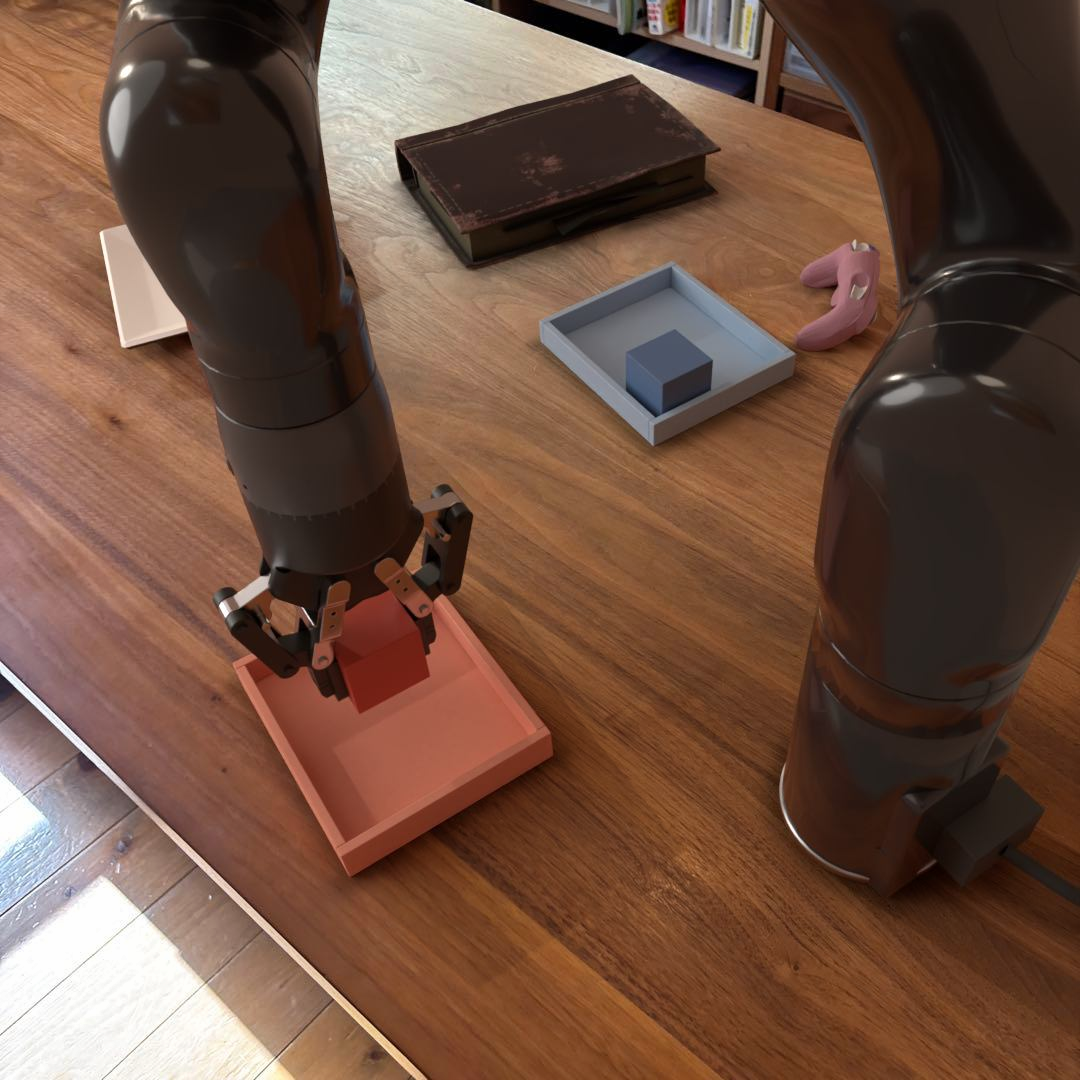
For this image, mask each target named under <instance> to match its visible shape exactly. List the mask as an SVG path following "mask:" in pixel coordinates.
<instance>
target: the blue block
mask: <svg viewBox="0 0 1080 1080" xmlns="http://www.w3.org/2000/svg"><path fill="white" fill-rule="evenodd" d="M712 368H713V359H711V358H710V357H709V356H708V355H706V354H705V353H704V352H703V351H701V350H700V349H699V348H698V347H697V346H695V345H694V344H693V343H692V342H690V341H689V340H688V339H687V338H685V337H684V336H683V335H682V334H681V333H679V332H678V331H677V330H676V329H674V330H672V331H670V332H667V333H665V334H663V335H661V336H659V337H657V338H655V339H653V340H650V341H648V342H646V343H644V344H642V345H640V346H638V347H636V348H634V349H631V350H629V351H627V352H626V392H628V393H629V394H630V395H631V396H632V397H633V398H634V399H635V400H636V401H638V402H639V403H640V404H641V405H642V406H643V407H644V408H645V409H646V410H648V411H649V412H650V413H651V414H652V415H653V416H654V417H655V418H656V417H658V416H660V415H662V414H664V413H666V412H668V411H670V410H672V409H674V408H676V407H678V406H680V405H682V404H684V403H686V402H688V401H690V400H692V399H694V398H696V397H698V396H700V395H702V394H704V393H706V392H708V391H710V390H711V382H712Z"/></svg>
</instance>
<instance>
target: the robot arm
mask: <svg viewBox="0 0 1080 1080" xmlns="http://www.w3.org/2000/svg"><path fill="white" fill-rule="evenodd" d="M330 2H331V0H119V4H118V5H119V6H118V12H117V19H116V24H115V31H114V35H113V36H114V37H113V43H112V47H111V52H110V57H109V63H108V67H107V72H106V77H105V81H104V85H103V90H102V95H101V101H100V106H99V107H100V108H99V113H98V136H99V137H98V138H99V143H100V149H101V155H102V160H103V165H104V168H105V172H106V175H107V178H108V181H109V185H110V188H111V190H112V194H113V196H114V199H115V202H116V205H117V207H118V210H119V212H120V214H121V218H122V220H123V221H124V223H125V224H126V226H127V228H128V230H129V232H130V234H131V236H132V237H133V239H134V241H135V243H136V245H137V246H138V248H139V250H140V252H141V253H142V255H143V257H144V258H145V260H146V261H147V263H148V265H149V266H150V268H151V269H152V271H153V273H154V274H155V276H156V277H157V279H158V281H159V282H160V284H161V286H162V287H163V289H164V291H165V292H166V294H167V296H168V297H169V298H170V300H171V301H172V302H173V304H174V305H175V307H176V308H177V309H178V310H179V312H180V313H181V314H182V315H183V317H184V318H185V322H186V326H187V330H188V333H189V334H188V336H189V340H190V342H191V345H192V349H193V352H194V354H195V357H196V359H197V362H198V365H199V367H200V370H201V374H202V376H203V379H204V381H205V384H206V387H207V389H208V393H209V395H210V397H211V400H212V404H213V407H214V412H215V418H216V424H217V429H218V433H219V437H220V440H221V444H222V447H223V449H224V452H225V453H224V457H225V463H226V466H227V468H228V471H229V472H230V473H231V475H232V476H233V477H234V480H235V482H236V485H237V487H238V489H239V492H240V496H241V498H242V500H243V503H244V505H245V508H246V511H247V513H248V517H249V519H250V522H251V524H252V527H253V529H254V530H253V531H254V532H255V535H256V537H257V541H258V543H259V546H260V549H261V552H262V555H261V560H260V563H259V569H258V573H259V577H257V578H255V579H254V580H253V581H252V582H250V583H248V585H246V586H245V587H244V588H242V589H241V590H239V591H237V589H235V588H234V587H232V586H224V587H222V588H220V589H218V590H216V591H215V593H214V594H213V596H212V603H213V604H214V606H215V608H216V610H217V612H218V613H219V616H220V617H221V618H222V619H221V620H223V622H224V625H225V626H226V627H227V629H228V632H229V634H230V635H231V636H232V637H233V638H234V639H235V640H236V641H237V642H238V643H239V644H241V645H242V646H243V647H244V648H245V649H246V650H248V651H249V652H250V654H251V653H252V654H254V655H255V656H256V657H257V658H258V659H259V660H260V661H262V662H263V663H264V664H265V665H266V666H267V667H268V668H270V669H271V670H272V671H273V672H274V673H275V674H276V675H278V676H279V677H280V678H282V679H287V678H290V677H292V676H294V675H295V674H296V673H297V672H298V671H299V669H300V667H308V670H309V673H310V676H311V678H312V680H313V681H314V683H315V685H316V686H317V688H318V690H319V691H320V693H321V695H322V696H324V697H326V698H328V697H330V696H332V695H334V696H335V697H336V699H337V701H338V702H339V701H341V700H343V699H345V698H347V697H349V693H348V690H347V687H346V684H345V681H344V678H343V675H342V672H341V669H340V666H339V663H338V661H337V659H336V658H335V656H334V652H335V644H336V638H340V637H341V636H342V629H343V621H344V614H345V612H347V611H349V610H351V609H352V608H353V607H355V606H356V605H357V604H359V603H360V602H362V601H363V600H365V599H369V598H372V597H375V596H378V595H380V594H382V593H384V592H386V591H388V590H391V591H392V593H393V594H394V595H395V596H396V597H397V598H398V600H399V601H400V602H401V604H402V605H403V607H404V608H405V609H406V611H407V612H408V614H409V615H410V617H411V618H412V619H413V621H414V622H415V624H416V625H417V626H418V628H419V629H420V634H421V638H422V643H423V647H424V651H425V656H427V655H429V654H430V653H431V652H430V647H429V645H430V644H432V643H433V642H435V639H436V630H435V626H434V621H433V616H432V612H431V611H432V610H433V608H434V603H433V602H434V601H435V599H436V598H438V597H439V596H440V595H441V594H443V595H444V596H446V597H450V596H453V595H454V594H456V593H457V592H459V590H460V589H461V587H462V583H463V577H464V571H465V565H466V561H467V555H468V549H469V544H470V537H471V533H472V532H471V531H472V527H473V521H474V514H473V512H472V511H471V510H470V509H469V508H468V506H467V505H466V504H465V502H464V501H463V500H462V498H461V497H460V496H459V495H458V494H457V492H455V491H454V488H452V487H451V486H450V484H447V483H441V484H439V485H438V486H436V487H435V488H434V489H432V491H431V494H430V498H429V499H424V500H420V501H416V502H414V501H413V500H412V499H411V495H410V489H409V486H408V485H409V484H408V480H407V476H406V471H405V470H406V469H405V466H404V461H403V456H402V452H401V447H400V442H399V438H398V433H397V429H396V423H395V419H394V415H393V410H392V409H393V408H392V405H391V400H390V398H389V393H388V390H387V388H386V387H387V386H386V384H385V382H384V379H383V377H382V375H381V372H380V370H379V367H378V365H377V361H376V357H375V353H374V349H373V344H372V339H371V334H370V330H369V325H368V321H367V317H366V311H365V307H364V302H363V298H362V295H361V291H360V290H361V289H360V287H359V284H358V281H357V278H356V275H355V272H354V269H353V267H352V264H351V263H350V261H349V259H348V257H347V255H346V253H345V252H344V250H343V249H342V248H341V246H340V241H339V236H338V231H337V225H336V221H335V216H334V215H335V214H334V211H333V205H332V204H333V203H332V199H331V193H330V188H329V182H328V174H327V168H326V163H325V162H326V161H325V154H324V147H323V141H322V140H323V139H322V131H321V117H320V116H321V115H320V104H319V102H320V101H319V84H318V81H319V80H318V79H319V69H320V63H321V62H320V61H321V55H322V47H323V41H324V34H325V28H326V23H327V17H328V12H329V8H330ZM758 2H759V4H760V5H761V6H762V8H764V10H765V11H766V12H767V14H768V16H769V17H770V18H771V19H772V21H773V22H774V23H775V24H776V25H777V27H778V28H779V30H780V31H781V32H782V33H783V34H784V36H785V38H787V39H788V40H789V42H790V43H791V44H792V45H793V47H795V49H796V50H797V51H798V53H799V54H800V55H801V56H802V58H803V59H804V60H805V61H806V62H807V63H808V64H809V66H810V67H811V68H812V69H813V71H814V72H815V73H816V74H817V76H819V78H820V79H821V80H822V81H823V83H824V84H825V85H826V86H827V88H828V89H829V90H830V92H831V93H832V94H833V95H834V97H835V98H836V99H837V101H839V103H840V104H841V105H842V107H843V108H844V110H845V111H846V113H847V114H848V116H849V118H850V120H851V122H852V123H853V125H854V127H855V128H856V131H857V132H858V133H859V137H860V138H861V141H862V143H863V145H864V148H865V150H866V153H867V154H868V157H869V160H870V163H871V166H872V170H873V172H874V176H875V179H876V182H877V185H878V190H879V195H880V198H881V201H882V206H883V210H884V215H885V219H886V223H887V227H888V228H887V229H888V232H889V237H890V242H891V243H890V244H891V248H892V254H893V261H894V266H895V273H896V282H897V289H898V290H897V291H898V305H897V314H896V319H895V322H894V324H893V325H892V327H891V328H890V330H889V332H888V333H887V335H886V336H885V338H884V340H883V341H882V342H881V344H880V346H879V347H878V349H877V350H876V352H875V354H874V355H873V356H872V358H871V360H870V361H869V362H868V365H867V366H866V368H865V370H864V371H863V373H862V375H860V377H859V379H858V380H857V382H856V384H855V385H854V387H853V388H852V390H851V392H850V393H849V395H848V397H847V398H846V401H845V402H844V404H843V406H842V408H841V410H840V414H839V416H838V419H837V422H836V425H835V428H834V431H833V434H832V438H831V442H830V446H829V451H828V455H827V461H826V465H825V472H824V477H823V484H822V491H821V498H820V505H819V506H820V507H819V512H818V519H817V526H816V535H815V542H814V552H813V572H814V578H815V581H816V585H817V587H818V589H819V593H818V598H817V603H816V607H815V613H814V618H813V623H812V628H811V633H810V637H809V642H808V648H807V651H806V657H805V660H804V661H805V662H804V667H803V671H802V677H801V682H800V686H799V691H798V697H797V702H796V707H795V710H794V711H795V712H794V717H793V722H792V726H791V732H790V737H789V741H788V748H787V752H786V753H787V754H786V758H785V763H784V765H783V767H782V771H781V775H780V779H779V783H778V784H779V785H778V807H779V811H780V814H781V817H782V820H783V823H784V826H785V828H786V829H787V831H788V833H789V835H790V836H791V838H792V839H793V841H794V842H795V843H796V845H797V846H798V848H800V850H801V851H802V852H803V853H804V854H805V855H806V856H807V857H809V859H811V860H812V861H813V862H814V863H816V864H817V865H819V866H820V867H822V868H823V869H825V870H826V871H828V872H829V873H832V874H834V875H836V876H839V877H841V878H844V879H846V880H849V881H852V882H856V883H862V884H866V885H868V886H869V887H870V888H871V889H872V890H874V892H875V893H876V894H877V895H878V896H879V897H881V898H882V899H888V898H890V897H892V896H893V895H894V894H896V893H898V891H900V890H901V889H902V888H904V887H905V886H907V885H908V884H909V883H911V882H912V881H913V880H915V879H916V878H918V877H920V876H922V875H924V874H925V873H927V872H929V871H930V870H931V869H932V868H934V867H935V866H936V865H940V866H941V867H942V868H943V869H944V870H945V872H946V873H947V874H948V875H949V876H951V878H952V879H953V880H954V881H955V882H956V883H957V884H958V885H959V886H960V887H961V888H965V887H966V886H967V885H969V884H970V883H972V882H973V881H974V880H976V879H977V878H978V877H979V876H981V875H982V874H983V873H985V872H986V871H988V870H989V869H990V868H991V867H993V866H994V865H995V864H997V863H998V862H999V861H1000V860H1002V859H1004V860H1005V861H1007V862H1008V863H1009V864H1011V865H1013V866H1014V867H1016V868H1017V869H1019V870H1021V871H1022V872H1024V873H1025V874H1026V875H1028V876H1029V877H1031V878H1033V879H1034V880H1036V881H1037V882H1039V883H1040V884H1041V885H1043V886H1044V887H1046V888H1048V889H1049V890H1051V891H1052V892H1054V893H1056V895H1058V896H1060V897H1062V898H1063V899H1065V900H1066V901H1068V902H1070V903H1072V904H1073V905H1075V906H1077V907H1079V908H1080V888H1079V887H1077V886H1076V885H1074V884H1072V883H1071V882H1070V881H1068V880H1066V879H1064V878H1063V877H1061V876H1059V875H1058V874H1056V872H1054V871H1052V870H1050V869H1049V868H1048V867H1046V866H1044V865H1043V864H1041V863H1040V862H1039V861H1037V860H1035V859H1034V858H1032V857H1031V856H1029V855H1028V854H1027V853H1025V852H1024V851H1022V850H1021V849H1020V848H1019V849H1018V847H1020V846H1021V845H1022V844H1023V843H1025V842H1026V841H1027V840H1029V838H1030V837H1031V835H1032V834H1033V832H1034V831H1035V829H1036V827H1037V825H1038V823H1039V822H1040V820H1041V818H1042V817H1043V814H1044V813H1045V811H1046V809H1045V808H1044V807H1043V805H1041V803H1039V802H1038V801H1037V800H1036V799H1034V798H1033V796H1031V795H1030V794H1029V793H1028V792H1027V791H1026V790H1025V789H1024V788H1023V787H1022V786H1020V785H1019V784H1018V783H1017V781H1015V779H1013V778H1012V777H1011V776H1009V774H1007V773H1005V774H1003V775H1002V776H1000V777H999V775H1000V773H1001V771H1002V769H1003V767H1004V765H1005V762H1006V760H1007V758H1008V757H1009V754H1010V752H1011V745H1010V744H1009V742H1007V741H1006V740H1005V739H1004V738H1003V737H1002V736H1001V735H999V733H1000V732H1001V728H1002V727H1003V725H1004V722H1005V720H1006V718H1007V715H1008V713H1009V711H1010V709H1011V707H1012V705H1013V703H1014V701H1015V698H1016V696H1017V695H1018V692H1019V690H1020V687H1021V685H1022V683H1023V681H1024V679H1025V676H1026V674H1027V672H1028V670H1029V668H1030V666H1031V664H1032V662H1033V660H1034V658H1035V656H1036V654H1037V653H1038V652H1039V651H1040V650H1041V648H1042V647H1043V646H1044V644H1045V642H1046V640H1047V639H1048V636H1049V634H1050V632H1051V630H1052V628H1053V625H1054V624H1055V621H1056V619H1057V617H1058V615H1059V613H1060V611H1061V609H1062V607H1063V605H1064V603H1065V601H1066V599H1067V597H1068V595H1069V592H1070V590H1071V588H1072V586H1073V584H1074V582H1075V580H1076V578H1077V576H1078V574H1079V572H1080V0H758ZM125 224H124V225H125ZM423 530H425V533H424V538H423V545H422V554H421V560H420V567H421V568H420V567H419V568H420V569H419V570H418V571H416V572H415V573H414V574H412V573H411V572H412V571H410V570H409V568H408V567H407V566H406V564H407V562H408V561H409V558H410V557H411V554H412V552H413V550H414V549H415V546H416V544H417V542H418V540H419V538H420V537H421V534H422V533H423ZM275 599H276V600H279V601H282V602H284V603H288V604H289V605H293V606H294V610H295V618H294V619H295V621H294V631H293V632H294V633H292V632H290V633H288V634H282V633H281V631H280V630H279V629H277V627H275V626H274V625H273V624H272V623H271V622H270V621H271V619H272V617H273V612H272V610H271V603H272V602H273V601H274V600H275ZM998 777H999V778H998Z"/></svg>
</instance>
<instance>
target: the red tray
mask: <svg viewBox="0 0 1080 1080" xmlns="http://www.w3.org/2000/svg"><path fill="white" fill-rule="evenodd" d="M421 567H422V566H420V567H418V568H416V569H413V570H412V571H410V572H411V573H412V574H414V573H415V572H416V571H418V570H419V569H420V568H421ZM433 603H434V608H433V610H432V611H431V612H432V616H433V621H434V626H435V630H436V639H435V642H433V643H432V644H430V645H429V647H430V652H431V653H430V654H429V655H427V656H426V660H427V664H428V669H429V673H430V677H429V678H427V679H425V680H423V681H421V682H419V683H417V684H416V685H414V686H412V687H410V688H408V689H406V690H404V691H402V692H401V693H399V694H397V695H395V696H393V697H391V698H389V699H388V700H386V701H384V702H382V703H380V704H378V705H376V706H374V707H373V708H371V709H369V710H367V711H365V712H363V713H361V714H359V713H358V711H357V710H356V708H355V706H354V705H353V703H352V702H351V700H350V698H349V697H347V698H345V699H343V700H341V701H339V702H338V701H337V699H336V697H335V696H334V695H332V696H330V697H328V698H326V697H324V696H322V695H321V693H320V691H319V690H318V688H317V686H316V685H315V683H314V681H313V680H312V678H311V676H310V673H309V670H308V667H300V669H299V671H298V672H297V673H296V674H295V675H294V676H292V677H290V678H287V679H282V678H280V677H279V676H278V675H276V674H275V673H274V672H273V671H272V670H271V669H270V668H268V667H267V666H266V665H265V664H264V663H263V662H262V661H260V660H259V659H258V658H257V657H256V656H255V655H254V654H252V653H251V652H250V653H249V654H248V655H245V656H244V657H242V658H240V659H238V660H235V661H234V662H232V666H233V668H234V670H235V672H236V675H237V677H238V679H239V682H240V683H241V685H242V687H243V689H244V691H245V693H246V695H247V697H248V699H249V700H250V701H251V703H252V705H253V707H254V709H255V711H256V712H257V714H258V716H259V718H260V719H261V721H262V723H263V725H264V726H265V729H266V730H267V732H268V734H269V736H270V737H271V740H272V741H273V743H274V744H275V746H276V749H277V750H278V751H279V753H280V755H281V757H282V759H283V760H284V762H285V765H286V766H287V768H288V769H289V772H290V773H291V776H292V777H293V779H294V781H295V783H296V784H297V786H298V788H299V789H300V791H301V793H302V795H303V797H304V798H305V800H306V802H307V804H308V805H309V808H310V809H311V811H312V812H313V814H314V816H315V818H316V820H317V821H318V823H319V825H320V827H321V829H322V830H323V832H324V834H325V835H326V837H327V840H328V841H329V843H330V845H331V846H332V848H333V850H334V853H336V855H337V857H338V859H339V860H340V862H341V864H342V866H343V867H344V869H345V871H346V873H347V875H348V877H350V878H351V877H353V876H355V875H357V874H358V873H360V872H362V871H364V870H366V868H368V867H370V866H372V865H373V864H375V863H377V862H378V861H380V860H381V859H383V858H385V857H387V856H388V855H390V854H391V853H393V852H395V851H397V850H398V849H400V848H401V847H404V846H405V845H406V844H408V843H410V842H411V841H413V840H416V838H418V837H420V836H421V835H423V834H425V833H426V832H428V831H430V830H431V829H433V828H436V827H437V826H438V825H440V824H441V823H443V822H445V821H447V820H448V819H450V818H451V817H453V816H455V815H457V814H458V813H460V812H461V811H463V810H465V809H466V808H468V807H470V806H472V805H473V804H475V803H476V802H478V801H479V800H482V799H483V798H485V797H487V796H488V795H490V794H491V793H493V792H495V791H496V790H498V789H500V788H502V787H504V786H505V785H506V784H508V783H510V782H511V781H513V780H515V779H517V778H519V777H520V776H521V775H523V774H526V773H527V772H528V771H530V770H531V769H533V768H535V767H537V766H538V765H540V764H541V763H543V762H545V761H546V760H548V759H550V758H552V757H554V752H553V751H554V749H553V739H552V732H551V731H550V729H548V727H547V726H546V725H545V723H544V722H543V720H541V718H540V716H538V714H537V713H536V712H535V710H534V709H533V708H532V707H531V705H530V704H529V702H528V700H526V698H525V697H524V696H523V695H522V694H521V692H520V691H519V689H518V688H517V687H516V686H515V684H514V683H513V682H512V681H511V679H510V677H509V676H508V675H507V674H506V672H505V671H504V670H503V669H502V667H501V666H500V665H499V664H498V662H497V661H496V659H495V658H494V657H493V656H492V654H491V653H490V652H489V651H488V649H487V648H486V647H485V645H484V644H483V643H482V641H481V640H480V639H479V638H478V636H477V635H476V634H475V632H474V631H473V629H472V628H471V627H470V626H469V625H468V623H467V622H466V620H464V618H463V617H462V616H461V614H460V613H459V611H458V610H457V609H456V608H455V606H454V605H453V604H452V603H451V601H450V600H449V599H448V596H444V595H443V594H441V595H440V596H439V597H438V598H436V599H435V601H434V602H433ZM291 633H294V631H293V632H291Z"/></svg>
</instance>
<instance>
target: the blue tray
mask: <svg viewBox="0 0 1080 1080" xmlns="http://www.w3.org/2000/svg"><path fill="white" fill-rule="evenodd" d="M538 325H539V336H540V338H539V339H540V342H541V343H542V345H544V346H545V347H546V349H548V350H549V351H550V352H552V353H553V354H554V355H555V357H557V358H558V359H559V360H560V361H561V362H563V364H564V365H565V366H566V367H568V369H570V370H571V371H572V372H573V374H575V375H576V376H577V377H578V378H580V379H581V381H583V382H584V383H585V384H586V385H587V386H588V387H589V388H590V389H591V390H592V391H594V393H596V394H597V395H598V397H600V398H601V399H602V400H603V401H604V402H605V403H606V404H607V405H609V406H610V407H611V409H613V411H615V412H616V413H617V414H618V415H619V416H620V417H621V418H622V419H623V420H624V421H626V422H627V423H628V424H629V425H630V426H631V427H632V428H633V429H634V430H635V431H636V432H638V433H639V434H640V436H642V437H643V438H644V439H645V440H646V441H647V442H648V443H650V444H651V446H653V447H655V446H657V445H659V444H661V443H663V442H665V441H666V440H669V439H671V438H673V437H675V436H677V435H678V434H680V433H683V432H684V431H686V430H688V429H690V428H692V427H695V426H696V425H698V424H700V423H702V422H705V421H706V420H708V419H710V418H712V417H714V416H716V415H718V414H720V413H721V412H723V411H726V410H728V409H730V408H732V407H733V406H735V405H737V404H739V403H741V402H743V401H746V400H747V399H749V398H752V397H753V396H756V395H757V394H759V393H761V392H762V391H764V390H765V391H766V390H767V389H768V388H771V387H773V386H775V385H776V384H779V383H780V382H782V381H785V380H786V379H788V378H790V377H792V376H794V371H795V363H796V357H797V353H795V352H794V351H793V350H792V349H790V348H789V347H788V346H786V345H785V344H783V343H782V342H781V341H780V340H778V339H777V338H775V336H773V335H772V334H770V333H769V332H768V331H766V330H765V329H764V328H762V327H761V326H759V325H758V324H757V323H756V322H754V321H753V320H751V318H749V317H748V316H746V315H745V314H744V313H742V312H741V311H740V310H739V309H738V308H736V307H734V306H733V304H730V303H729V302H728V301H726V300H725V299H724V298H723V297H722V296H720V295H718V293H716V292H715V291H713V290H712V289H711V288H709V287H708V286H707V285H705V284H704V283H703V282H702V281H700V280H698V278H696V277H695V276H694V275H692V274H691V273H690V272H688V271H687V270H685V269H684V268H682V267H681V266H680V265H679V264H678V263H677V262H674V260H671V261H669V262H667V263H665V264H662V265H660V266H657V267H656V268H654V269H651V270H649V271H647V272H645V273H642V274H641V275H637V276H636V277H633V278H631V279H629V280H627V281H624V282H623V283H620V284H618V285H615V286H613V287H610V288H609V289H606V290H604V291H602V292H599V293H597V294H595V295H593V296H591V297H589V298H585V299H583V300H582V301H579V302H577V303H575V304H573V305H570V306H569V307H566V308H564V309H561V310H559V311H558V312H554V313H553V314H551V315H548V316H546V317H543V318H542V319H539V321H538ZM674 329H676V330H677V331H678V332H679V333H681V334H682V335H683V336H684V337H685V338H687V339H688V340H689V341H690V342H692V343H693V344H694V345H695V346H697V347H698V348H699V349H700V350H701V351H703V352H704V353H705V354H706V355H708V356H709V357H710V358H711V359H713V368H712V382H711V390H710V391H708V392H706V393H704V394H702V395H700V396H698V397H696V398H694V399H692V400H690V401H688V402H686V403H684V404H682V405H680V406H678V407H676V408H674V409H672V410H670V411H668V412H666V413H664V414H662V415H660V416H658V417H656V418H655V417H654V416H653V415H652V414H651V413H650V412H649V411H648V410H646V409H645V408H644V407H643V406H642V405H641V404H640V403H639V402H638V401H636V400H635V399H634V398H633V397H632V396H631V395H630V394H629V393H628V392H626V352H627V351H629V350H631V349H634V348H636V347H638V346H640V345H642V344H644V343H646V342H648V341H650V340H653V339H655V338H657V337H659V336H661V335H663V334H665V333H667V332H670V331H672V330H674Z"/></svg>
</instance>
